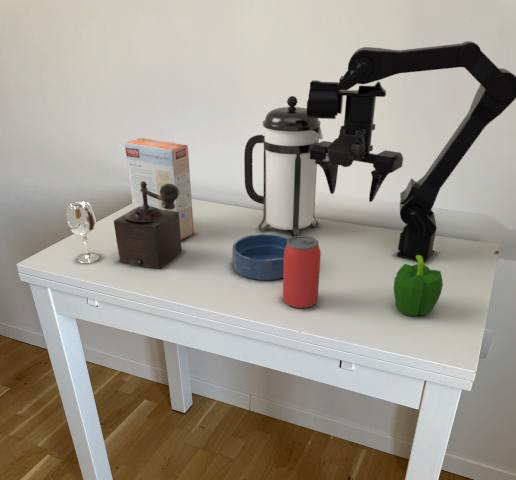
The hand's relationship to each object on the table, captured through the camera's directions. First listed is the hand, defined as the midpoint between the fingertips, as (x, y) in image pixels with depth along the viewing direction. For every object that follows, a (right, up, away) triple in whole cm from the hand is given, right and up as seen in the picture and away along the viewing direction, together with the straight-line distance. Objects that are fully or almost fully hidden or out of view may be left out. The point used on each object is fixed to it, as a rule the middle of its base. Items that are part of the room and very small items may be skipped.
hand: (351, 197), depth 116 cm
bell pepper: (+9, -26, -17) cm, 32 cm away
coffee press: (-14, -3, +18) cm, 23 cm away
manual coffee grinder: (-41, -13, +2) cm, 43 cm away
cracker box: (-43, -5, +15) cm, 46 cm away
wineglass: (-57, -13, +2) cm, 59 cm away
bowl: (-19, -15, -1) cm, 24 cm away
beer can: (-12, -24, -14) cm, 30 cm away
